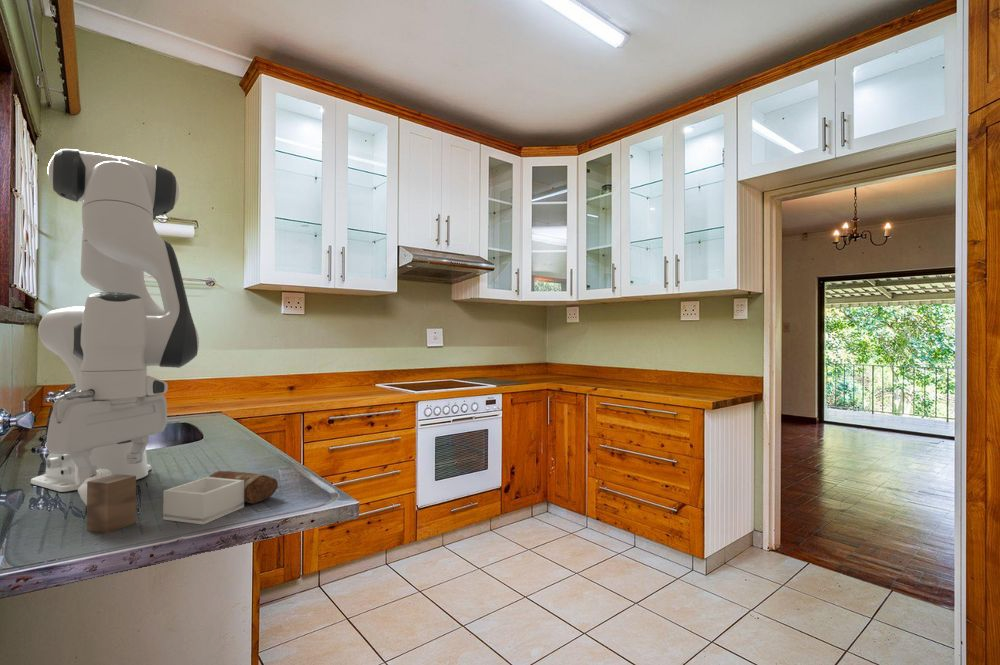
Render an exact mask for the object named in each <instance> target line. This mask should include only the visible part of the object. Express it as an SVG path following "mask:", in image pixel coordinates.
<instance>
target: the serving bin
mask: <svg viewBox="0 0 1000 665" xmlns="http://www.w3.org/2000/svg"><path fill="white" fill-rule="evenodd" d="M162 503H163V505H162V511H163V514H162V520H165V521H174V522H182V523H188V524H197V525H206V524H208V523H210V522H213V521H214V520H217V519H219V518H222V517H225V516H227V515H229V514H232V513H234V512H236V511H239V510H241V509H243V508H245V501H244V480H236V479H225V478H214V477H210V476H206V477H202V478H199V479H196V480H193V481H190V482H186V483H183V484H181V485H176V486H173V487H171V488H168V489H165V490H163V502H162Z"/></svg>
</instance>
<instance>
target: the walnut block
mask: <svg viewBox="0 0 1000 665" xmlns="http://www.w3.org/2000/svg"><path fill="white" fill-rule="evenodd" d="M136 514H137V480H136V476H132V475H122V474H114V475H110V476H106V477H103V478H99V479H95V480H91V481H87V505H86V531H90V532H97V533H104V534H109V533H111V532H114V531H117V530H119V529H122V528H124V527H127V526H131V525H133V524H136V523H137V522H136V521H137V519H136V518H137V515H136Z"/></svg>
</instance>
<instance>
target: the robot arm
mask: <svg viewBox="0 0 1000 665" xmlns="http://www.w3.org/2000/svg"><path fill="white" fill-rule="evenodd" d="M47 178H48V181H49V183H50V185H51V187H52V189H53V191H54V192H55V193H56V194H57V195H58V196H60V197H61V198H63V199H66V200H68V201H73V202H75V203H78V202H82V206H81V207H82V209H81V222H82V224H81V225H82V233H81V234H82V235H81V252H80V253H81V254H80V275H81V278H82V279H83V281H85V282H86V283H87V284H88V285H90V286H92V287H94V288H96V289H97V290H99V292H93V293H91V294H89V295H87V297H86V300H85V303H84V304H85V305H81V306H80V305H76V306H67V307H61V308H57V309H53V310H50V311H48V312H47V313H45V314H44V316H43V317H42V318H41V320H40V321H39V324H38V329H37V332H38V337H39V340H40V342H41V344H42V345H43V346H44V347H45V348H46V349H47V350H48V351H50V352H52V353H53V354H54V355H56V356H57V357H59V359H61V360H62V361H63V362H64V364H65V365H66V367H67V368H68V370H69V372H70V374H71V375H72V378H73V381H74V384H75V385H74V386H75V391H65V392H64V393H62V395H61V396H59V397H58V398H57V399H56V400H55V401H54V402H53V408H52V411H51V414H50V418H49V422H48V428H47V435H46V444H45V445H46V450H48V451H49V454H48V455H47V458H46V461H45V466H46V467H45V473H44V474H41V475H38V476H34V477H32V478H31V479H30V484H32V485H35V486H39V487H42V488H45V489H49V490H51V491H52V490H53V491H56V492H59V493H62V492H63V493H65V492H66V493H67V492H72V491H78V488H79V487H80V486H81V485H82V484H83V483H84V481H85V480H86V479H87V478H90V477H93V476H96V474H97V472H96V470H98V469H108V470H110V471H111V472H112V475H114V474H122V475H132V476H136V481H137V480H139V479H140V480H141V479H142V478H145V477H146V476H148V475H149V471H150V470H151V469H152V466H151V464H148V457H147V449H146V448H147V445H148V443H149V436H152V435H156V434H157V435H158V434H159V433H162V432H163V431H164V430H165V428H166V426H167V422H168V420H167V419H168V402H167V398H166V396H165V395H166V394H167V392H168V386H169V385H168V382H166V381H164V380H161V379H158V378H156V377H152V376H150V375H148V373H147V371H148V369H147V367H159V368H180V369H181V368H182V367H183V366H185V365H187V364H188V363H190V362H192V360H194V359H195V357H197V356H198V351H199V346H200V338H199V333H198V330H197V328H196V324H194V320H193V316H192V313H191V310H190V305H189V302H188V297H187V293H186V289H185V284H184V280H183V276H182V271H181V268H180V264H179V261H178V258H177V255H176V252H175V250H174V248H173V246H172V244H171V243H170V242H168V241H166V240H165V239H163V238H162V237H161V236H160V234H159V233H158V231H157V230H156V228H155V225H154V221H155V220H156V219H157V217H160V216H163V215H167V214H168V213H169V212H171V211H173V209H174V207H175V205H176V204H177V202H178V201H179V196H180V188H179V185H178V181H177V179H176V178H177V177H176V176H175V174H174V173H173V172H172V171H170V170H169V169H167V168H165V167H162V166H160V165H152V164H148V163H145V162H142V161H138V160H135V159H131V158H128V157H124V156H123V157H122V156H115V155H110V154H109V155H108V154H101V153H95V152H87V151H81V150H80V149H76V148H75V149H73V148H61V149H59V150H58V151H55V152H54V154H53V156H52V157H51V159H50V160H49V163H48V166H47ZM145 273H147V274H148V275H149V276H151V277H152V278H153V279H154V280H155V281H156V282H157V284H158V288H159V292H160V297H161V301H162V305H163V308H162V307H161V306H159V304H157V302H155V301H154V299H153V298H152V296H151V295H150V293H149V291H148V289H147V286H146V283H145ZM164 394H165V395H164Z"/></svg>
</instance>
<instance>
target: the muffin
mask: <svg viewBox="0 0 1000 665" xmlns="http://www.w3.org/2000/svg"><path fill="white" fill-rule="evenodd" d="M96 472H97V474H96V476H93V477H90V478H87V479H86V480H85V481H84V483H83V484H82V485H81V486H80V487H79V488H78V490H77V493H78V494H79V497H80V499H81V500H82V501H83V503H84V504H85V505H86V506H87V481H91V480H95V479H99V478H103V477H106V476H110V475H112V472H111V471H110V470H108V469H98V470H96Z"/></svg>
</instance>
